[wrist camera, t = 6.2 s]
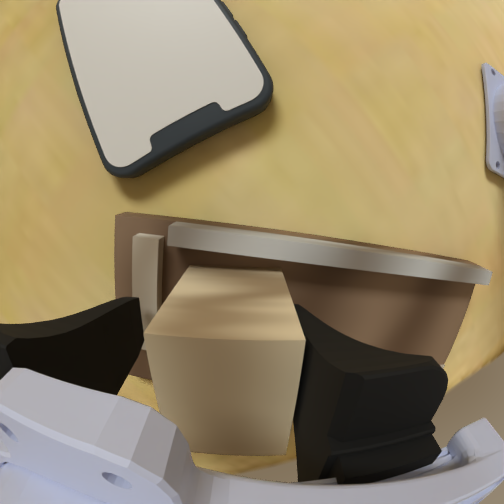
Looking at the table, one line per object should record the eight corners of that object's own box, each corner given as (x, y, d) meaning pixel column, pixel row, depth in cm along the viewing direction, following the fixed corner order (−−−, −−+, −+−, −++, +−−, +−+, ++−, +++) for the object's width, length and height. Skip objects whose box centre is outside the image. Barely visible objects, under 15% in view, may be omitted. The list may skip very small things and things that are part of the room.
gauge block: (280, 267, 12) (305, 339, 6) (274, 361, 13) (285, 455, 8) (189, 265, 12) (143, 333, 6) (195, 358, 13) (170, 448, 8)
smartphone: (62, 8, 10) (123, 188, 13) (51, 0, 8) (109, 189, 11) (172, -54, 9) (282, 106, 12) (167, -66, 7) (286, 96, 11)
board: (468, 260, 14) (492, 271, 11) (423, 379, 16) (438, 399, 13) (126, 212, 13) (103, 218, 10) (130, 361, 15) (115, 385, 13)
